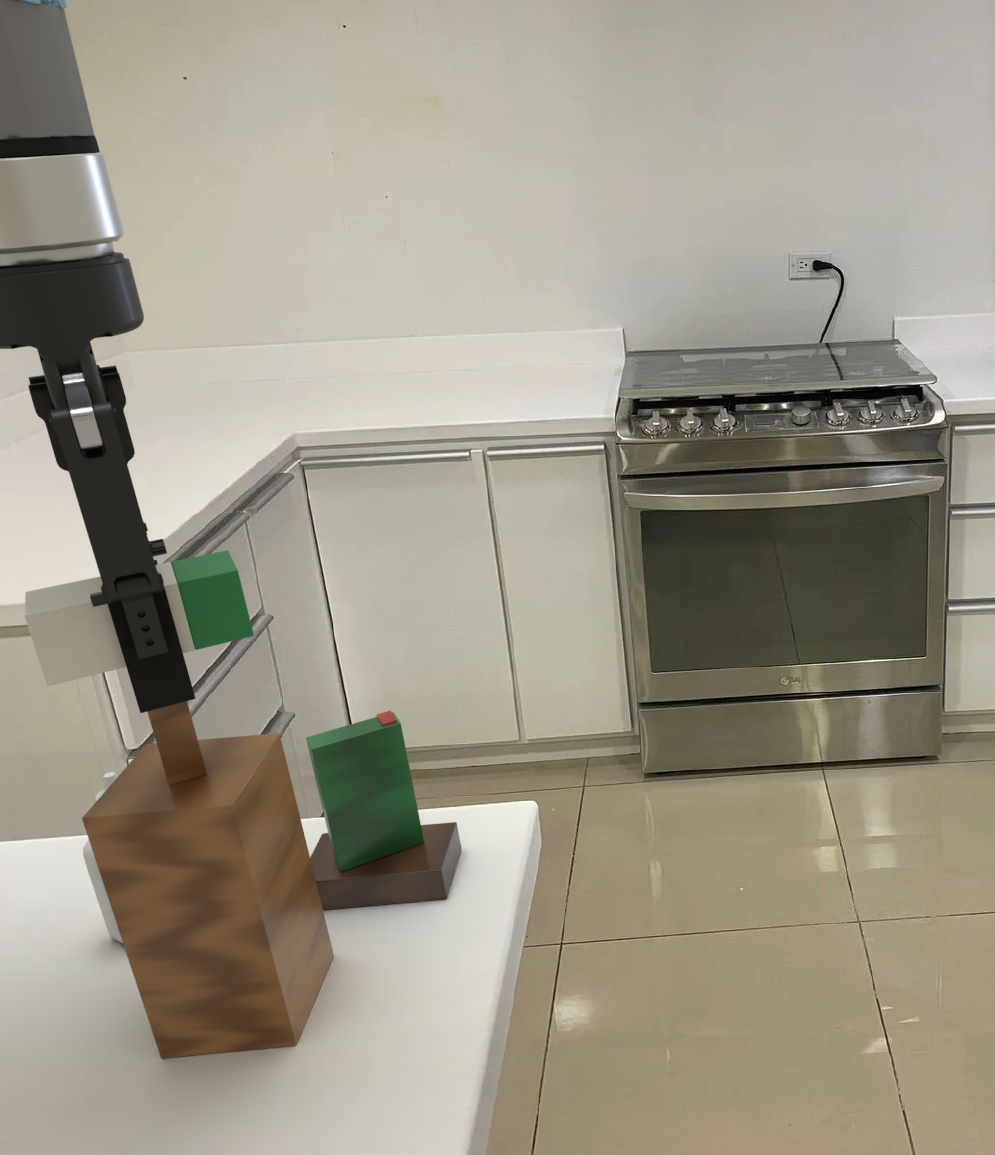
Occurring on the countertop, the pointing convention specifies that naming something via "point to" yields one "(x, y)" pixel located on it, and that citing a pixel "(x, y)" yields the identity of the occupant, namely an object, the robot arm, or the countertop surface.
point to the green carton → (366, 790)
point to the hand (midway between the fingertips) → (163, 686)
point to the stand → (212, 889)
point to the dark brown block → (390, 872)
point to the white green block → (87, 634)
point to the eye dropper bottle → (96, 876)
